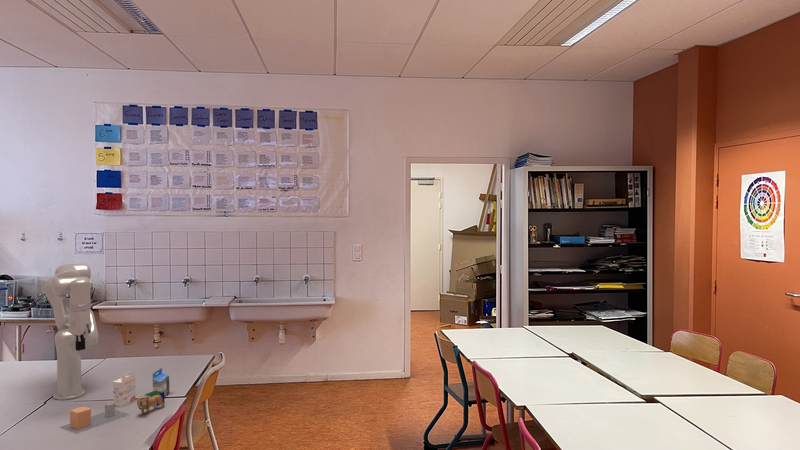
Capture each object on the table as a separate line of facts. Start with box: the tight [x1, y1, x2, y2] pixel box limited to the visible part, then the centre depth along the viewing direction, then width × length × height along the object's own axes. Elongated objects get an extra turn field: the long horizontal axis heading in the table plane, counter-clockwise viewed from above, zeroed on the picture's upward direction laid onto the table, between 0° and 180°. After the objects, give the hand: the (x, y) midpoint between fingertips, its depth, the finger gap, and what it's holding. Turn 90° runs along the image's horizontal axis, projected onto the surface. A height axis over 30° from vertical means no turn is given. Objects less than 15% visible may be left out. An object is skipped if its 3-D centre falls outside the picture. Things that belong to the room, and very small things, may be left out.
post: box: [104, 401, 116, 417], centre depth 214 cm, size 3×3×5 cm
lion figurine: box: [136, 395, 165, 415], centre depth 220 cm, size 15×5×9 cm, turn 166°
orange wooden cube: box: [69, 406, 92, 430], centre depth 204 cm, size 5×5×7 cm
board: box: [58, 409, 131, 434], centre depth 209 cm, size 12×22×1 cm, turn 151°
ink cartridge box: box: [112, 369, 136, 407], centre depth 229 cm, size 9×5×15 cm, turn 168°
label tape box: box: [152, 367, 171, 397], centre depth 240 cm, size 9×4×12 cm, turn 179°
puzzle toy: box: [144, 390, 165, 408], centre depth 228 cm, size 6×6×6 cm
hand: (80, 349), depth 221 cm, fingers closed
